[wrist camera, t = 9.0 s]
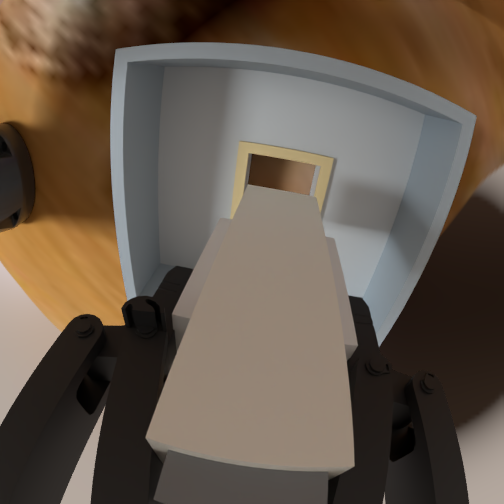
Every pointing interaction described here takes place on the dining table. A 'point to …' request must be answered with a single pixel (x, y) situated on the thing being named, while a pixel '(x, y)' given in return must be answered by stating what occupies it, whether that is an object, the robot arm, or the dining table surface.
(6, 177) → the robot arm
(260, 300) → the connector
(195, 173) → the walled box
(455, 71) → the dining table surface
